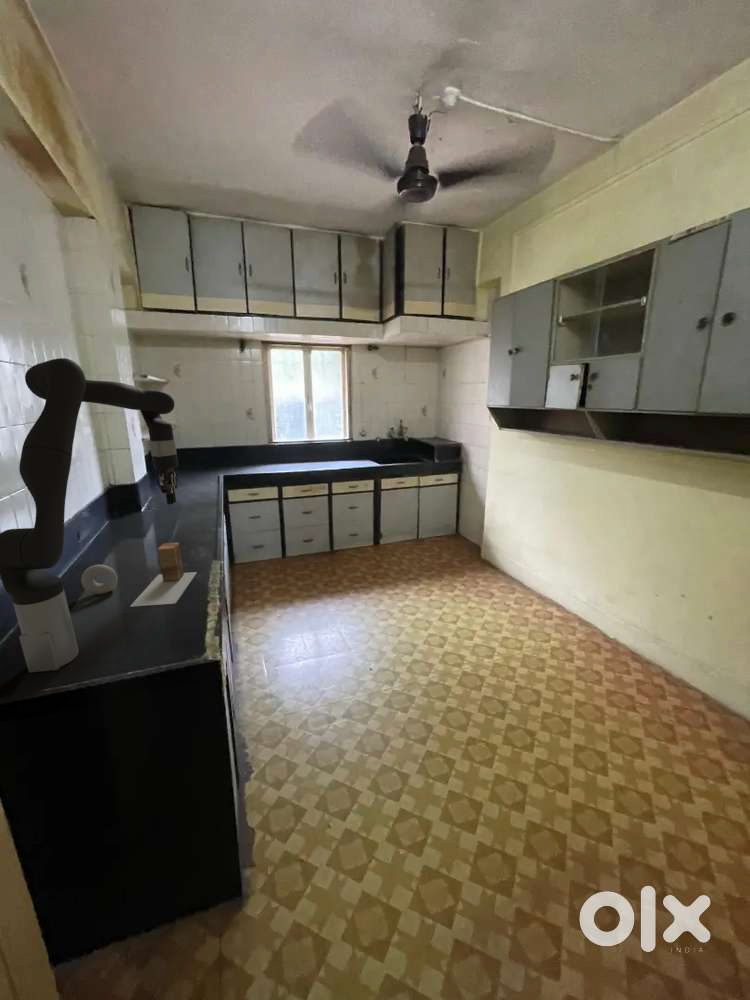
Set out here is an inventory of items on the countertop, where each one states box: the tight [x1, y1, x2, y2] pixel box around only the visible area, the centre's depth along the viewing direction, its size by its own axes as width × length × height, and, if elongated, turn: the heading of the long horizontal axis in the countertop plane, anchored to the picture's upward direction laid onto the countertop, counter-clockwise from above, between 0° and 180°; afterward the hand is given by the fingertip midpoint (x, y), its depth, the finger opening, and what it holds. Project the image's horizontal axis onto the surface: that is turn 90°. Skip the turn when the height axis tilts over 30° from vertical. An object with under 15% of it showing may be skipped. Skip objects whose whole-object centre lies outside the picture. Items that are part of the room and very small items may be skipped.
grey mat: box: [129, 571, 198, 608], centre depth 132 cm, size 22×13×1 cm, turn 7°
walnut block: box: [157, 542, 185, 582], centre depth 137 cm, size 5×5×12 cm
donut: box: [80, 564, 119, 595], centre depth 128 cm, size 10×4×10 cm, turn 105°
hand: (171, 503), depth 140 cm, fingers closed
